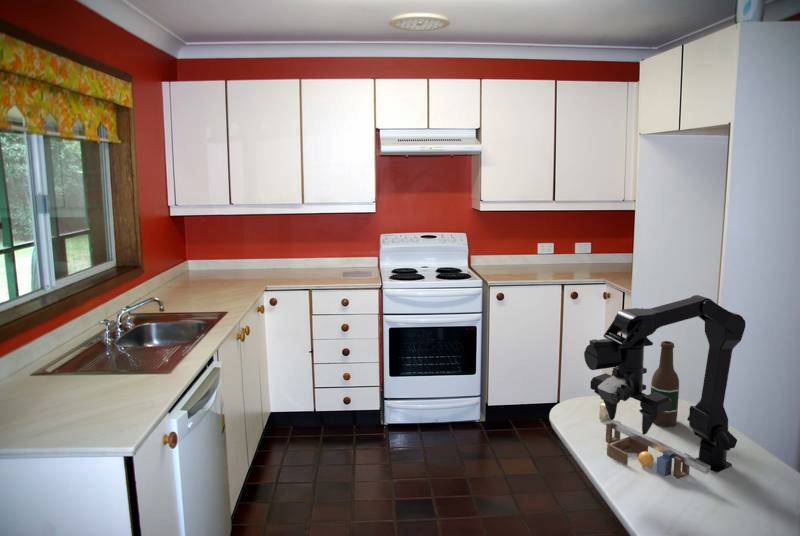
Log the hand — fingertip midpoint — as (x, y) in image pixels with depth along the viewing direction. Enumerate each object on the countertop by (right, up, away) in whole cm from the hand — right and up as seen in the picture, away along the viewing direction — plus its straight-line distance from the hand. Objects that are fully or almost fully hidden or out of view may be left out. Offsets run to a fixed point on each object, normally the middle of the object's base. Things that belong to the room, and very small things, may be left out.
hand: (628, 426), depth 140 cm
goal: (+5, -11, +13) cm, 18 cm away
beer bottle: (+22, -7, +32) cm, 39 cm away
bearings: (+9, -11, +12) cm, 19 cm away
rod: (+8, -11, +11) cm, 17 cm away
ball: (+8, -10, +8) cm, 15 cm away
